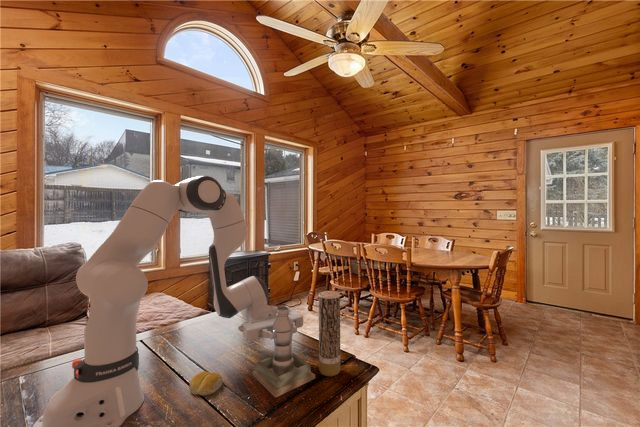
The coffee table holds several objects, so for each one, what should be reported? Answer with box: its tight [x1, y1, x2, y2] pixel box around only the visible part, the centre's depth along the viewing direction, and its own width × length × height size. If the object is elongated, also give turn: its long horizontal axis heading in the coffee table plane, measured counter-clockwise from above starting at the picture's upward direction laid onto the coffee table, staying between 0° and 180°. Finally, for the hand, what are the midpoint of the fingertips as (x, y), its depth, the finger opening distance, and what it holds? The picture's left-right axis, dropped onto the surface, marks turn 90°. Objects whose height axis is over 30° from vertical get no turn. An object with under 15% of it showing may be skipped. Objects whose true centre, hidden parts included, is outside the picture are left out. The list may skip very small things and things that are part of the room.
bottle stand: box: [251, 352, 316, 398], centre depth 90 cm, size 14×14×4 cm
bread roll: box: [189, 371, 224, 397], centre depth 85 cm, size 8×9×4 cm
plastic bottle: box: [272, 306, 294, 376], centre depth 90 cm, size 6×7×20 cm
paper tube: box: [318, 290, 341, 377], centre depth 92 cm, size 7×7×25 cm
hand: (284, 333), depth 89 cm, fingers closed on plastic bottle, 6 cm apart
